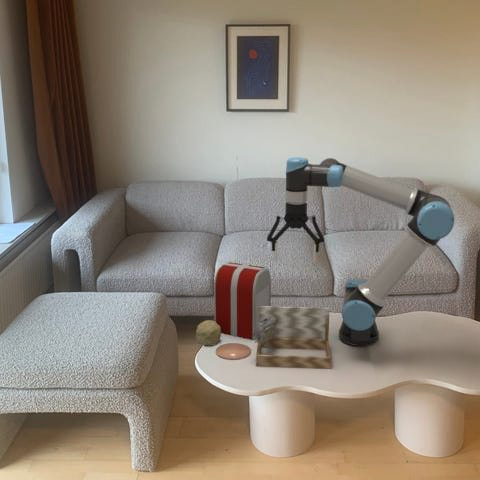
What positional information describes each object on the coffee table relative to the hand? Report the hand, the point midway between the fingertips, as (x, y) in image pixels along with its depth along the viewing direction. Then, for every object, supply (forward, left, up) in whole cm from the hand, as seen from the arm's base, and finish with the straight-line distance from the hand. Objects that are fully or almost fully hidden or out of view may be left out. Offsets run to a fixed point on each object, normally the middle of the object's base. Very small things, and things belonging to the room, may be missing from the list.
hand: (295, 260), depth 237 cm
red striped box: (+20, -16, -35) cm, 43 cm away
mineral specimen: (+12, +14, -25) cm, 31 cm away
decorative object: (+35, -4, -35) cm, 50 cm away
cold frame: (0, +7, -35) cm, 35 cm away
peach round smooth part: (+22, +4, -35) cm, 41 cm away
